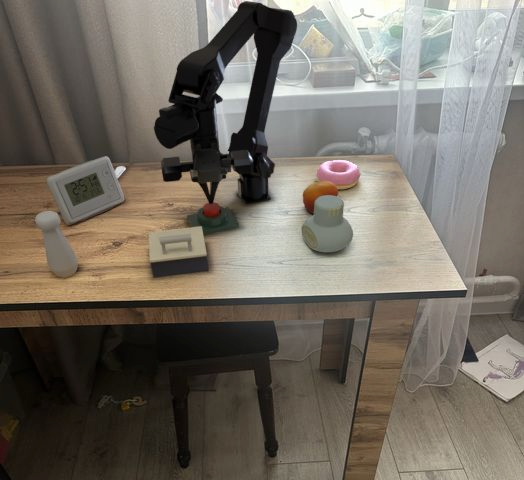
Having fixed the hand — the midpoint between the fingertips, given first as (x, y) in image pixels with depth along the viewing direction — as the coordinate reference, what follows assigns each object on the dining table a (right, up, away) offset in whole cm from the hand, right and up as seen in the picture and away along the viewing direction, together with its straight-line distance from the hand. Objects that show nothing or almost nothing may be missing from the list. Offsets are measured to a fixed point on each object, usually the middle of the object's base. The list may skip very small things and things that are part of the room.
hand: (211, 203), depth 111 cm
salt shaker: (-29, -17, -8) cm, 34 cm away
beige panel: (-6, -11, -10) cm, 16 cm away
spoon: (-28, +11, +19) cm, 35 cm away
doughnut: (+30, +10, +17) cm, 36 cm away
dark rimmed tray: (-6, -14, -7) cm, 16 cm away
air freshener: (+25, -10, -4) cm, 27 cm away
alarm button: (0, -2, +2) cm, 3 cm away
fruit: (+25, 0, +7) cm, 26 cm away
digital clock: (-29, +1, +9) cm, 30 cm away
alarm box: (0, -4, +4) cm, 5 cm away
